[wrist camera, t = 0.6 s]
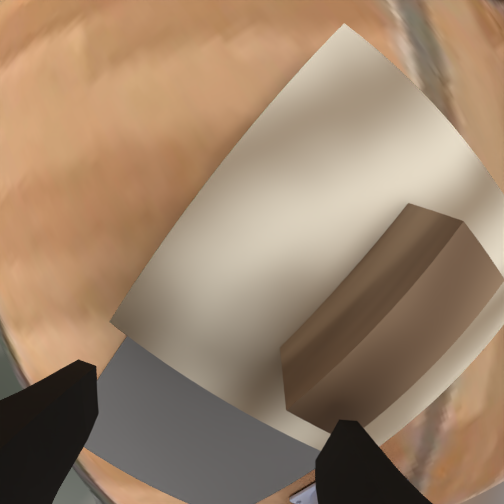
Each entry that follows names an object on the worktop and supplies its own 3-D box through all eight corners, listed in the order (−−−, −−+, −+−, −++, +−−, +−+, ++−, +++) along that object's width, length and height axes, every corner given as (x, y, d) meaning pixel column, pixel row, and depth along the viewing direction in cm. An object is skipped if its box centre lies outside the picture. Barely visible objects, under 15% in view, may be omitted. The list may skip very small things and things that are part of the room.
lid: (532, 261, 13) (590, 291, 8) (350, 453, 17) (366, 515, 12) (338, 32, 11) (375, -25, 6) (117, 312, 14) (67, 370, 10)
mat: (364, 427, 21) (366, 431, 21) (226, 514, 25) (225, 517, 24) (157, 293, 18) (154, 297, 18) (65, 429, 22) (63, 432, 22)
